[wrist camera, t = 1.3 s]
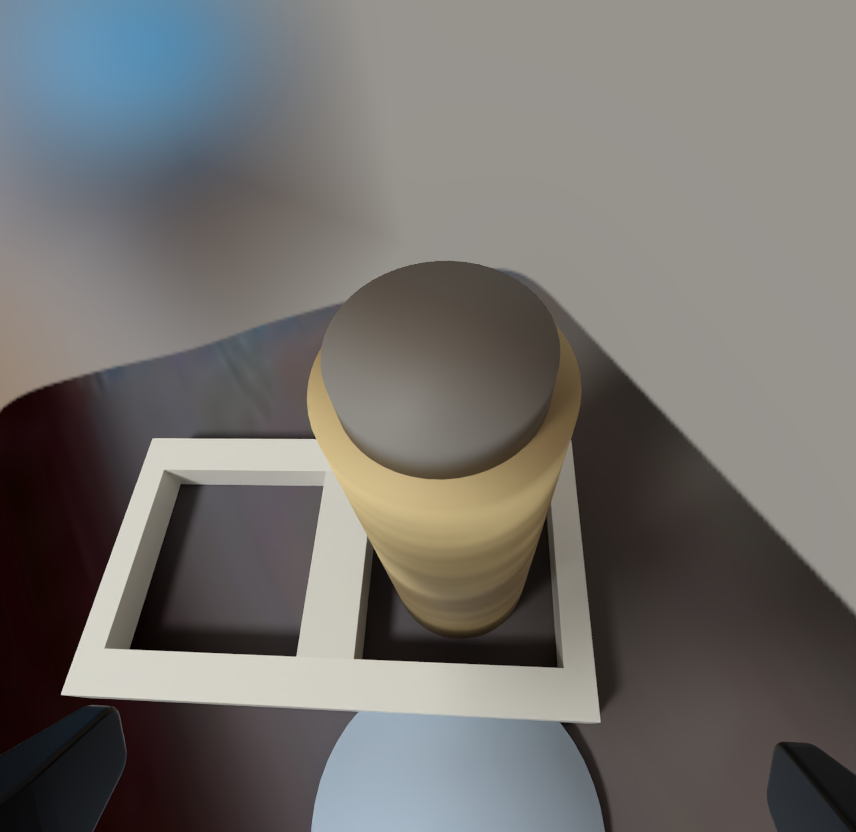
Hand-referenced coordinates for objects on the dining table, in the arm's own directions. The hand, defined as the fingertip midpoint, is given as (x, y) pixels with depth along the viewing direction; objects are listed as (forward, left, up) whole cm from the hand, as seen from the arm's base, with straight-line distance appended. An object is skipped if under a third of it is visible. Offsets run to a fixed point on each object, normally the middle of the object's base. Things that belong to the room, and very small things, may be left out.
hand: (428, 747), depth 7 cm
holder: (+4, +6, -12) cm, 14 cm away
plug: (+5, +2, -12) cm, 14 cm away
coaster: (-2, -1, -12) cm, 13 cm away
